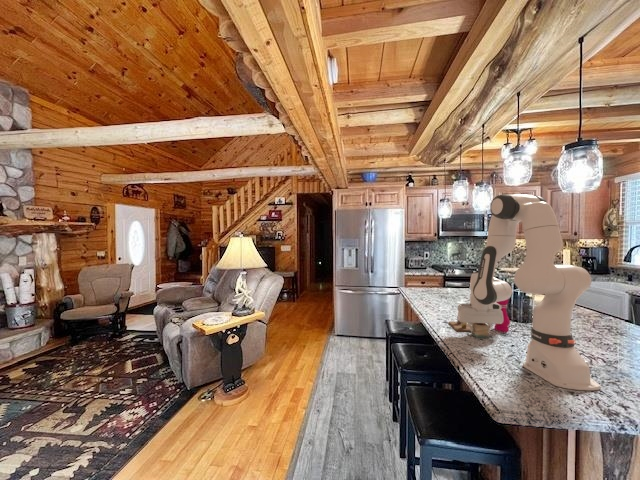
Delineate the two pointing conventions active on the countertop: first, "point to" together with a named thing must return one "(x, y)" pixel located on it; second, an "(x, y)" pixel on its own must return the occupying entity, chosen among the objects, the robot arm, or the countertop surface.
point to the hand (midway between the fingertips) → (479, 331)
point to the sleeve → (480, 330)
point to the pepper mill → (506, 320)
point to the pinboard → (460, 326)
